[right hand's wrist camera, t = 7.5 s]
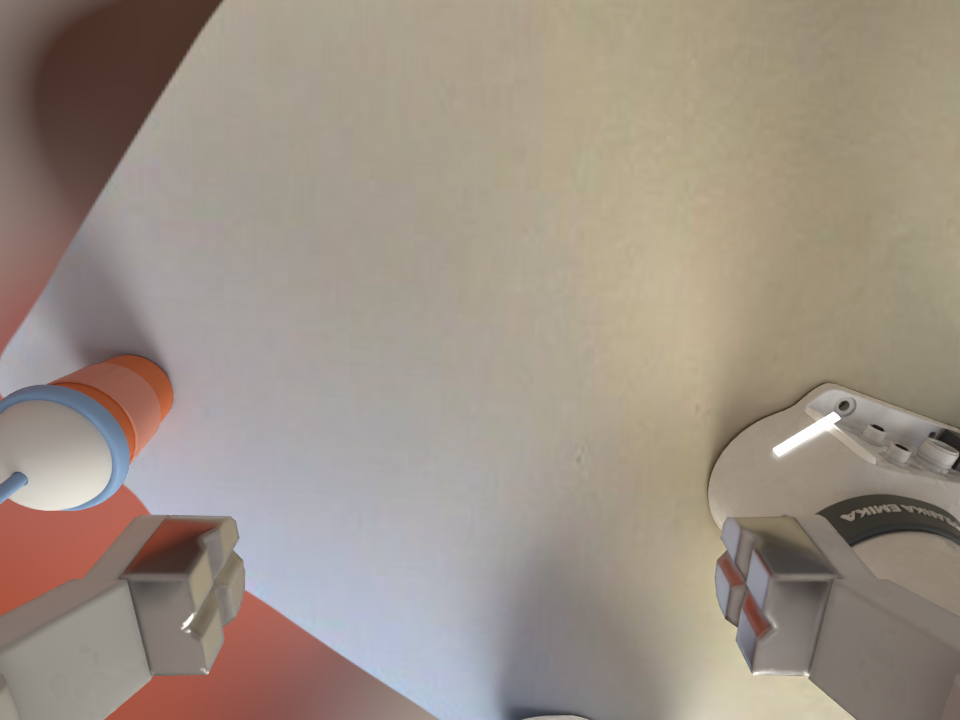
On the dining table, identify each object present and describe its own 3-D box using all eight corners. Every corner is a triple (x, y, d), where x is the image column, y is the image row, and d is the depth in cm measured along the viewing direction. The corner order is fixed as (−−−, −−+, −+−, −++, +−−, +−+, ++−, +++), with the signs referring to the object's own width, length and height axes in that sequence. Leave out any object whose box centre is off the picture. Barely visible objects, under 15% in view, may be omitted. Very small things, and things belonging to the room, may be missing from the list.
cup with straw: (89, 319, 50) (-117, 423, 33) (203, 360, 51) (61, 480, 34) (71, 417, 53) (-125, 558, 36) (180, 453, 54) (38, 606, 37)
